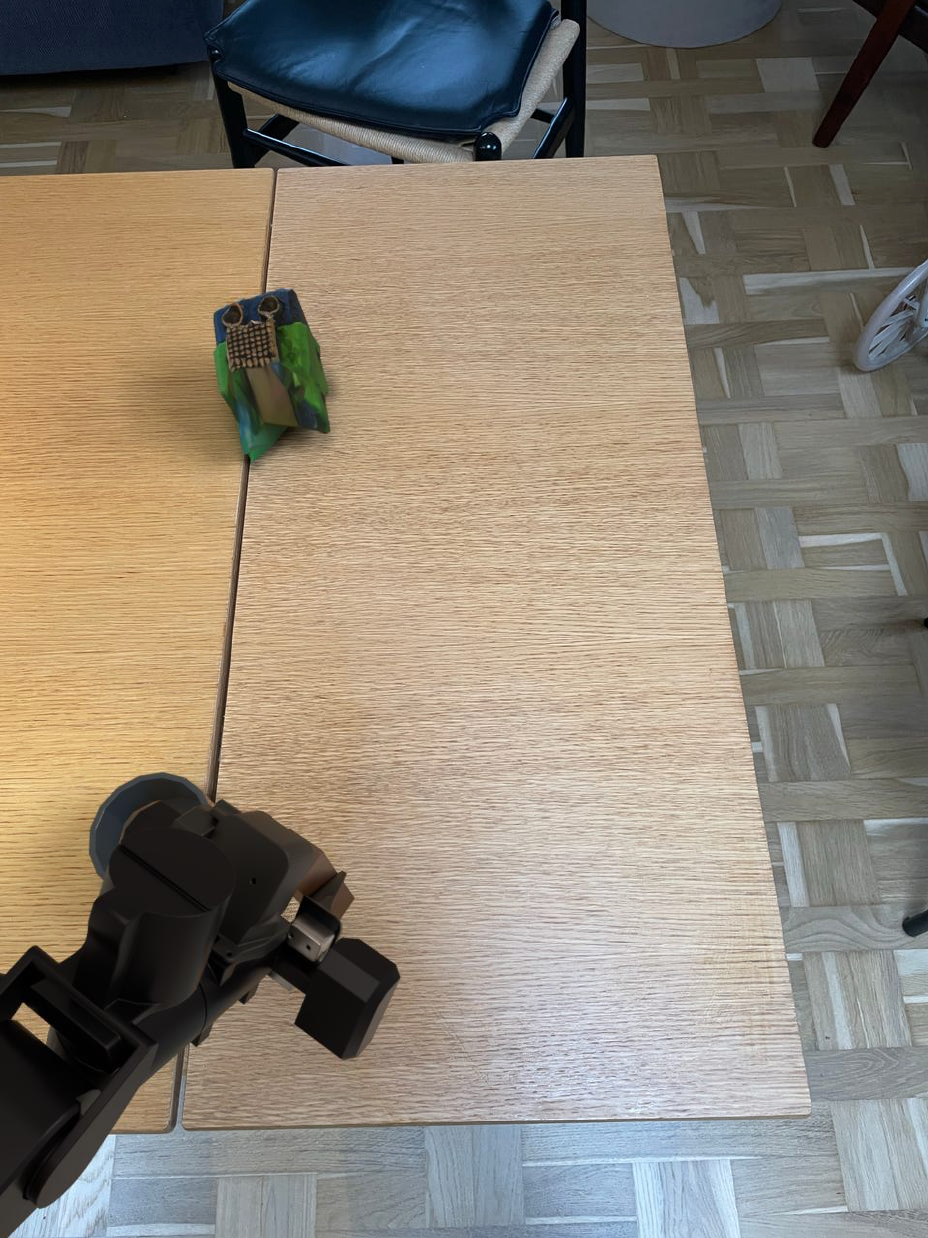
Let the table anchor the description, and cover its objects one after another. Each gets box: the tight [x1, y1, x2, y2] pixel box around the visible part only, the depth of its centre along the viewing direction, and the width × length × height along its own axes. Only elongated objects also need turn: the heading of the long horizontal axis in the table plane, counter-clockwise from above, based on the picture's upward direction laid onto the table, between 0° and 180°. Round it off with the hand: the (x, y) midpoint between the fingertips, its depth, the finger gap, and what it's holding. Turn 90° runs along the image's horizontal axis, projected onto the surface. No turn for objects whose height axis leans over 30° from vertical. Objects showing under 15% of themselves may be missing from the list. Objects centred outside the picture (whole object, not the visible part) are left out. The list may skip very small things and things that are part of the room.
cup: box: [88, 771, 216, 880], centre depth 77 cm, size 9×9×6 cm
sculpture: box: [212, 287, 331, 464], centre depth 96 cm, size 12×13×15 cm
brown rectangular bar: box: [288, 828, 355, 920], centre depth 64 cm, size 3×3×14 cm
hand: (325, 865), depth 65 cm, fingers closed on brown rectangular bar, 2 cm apart
